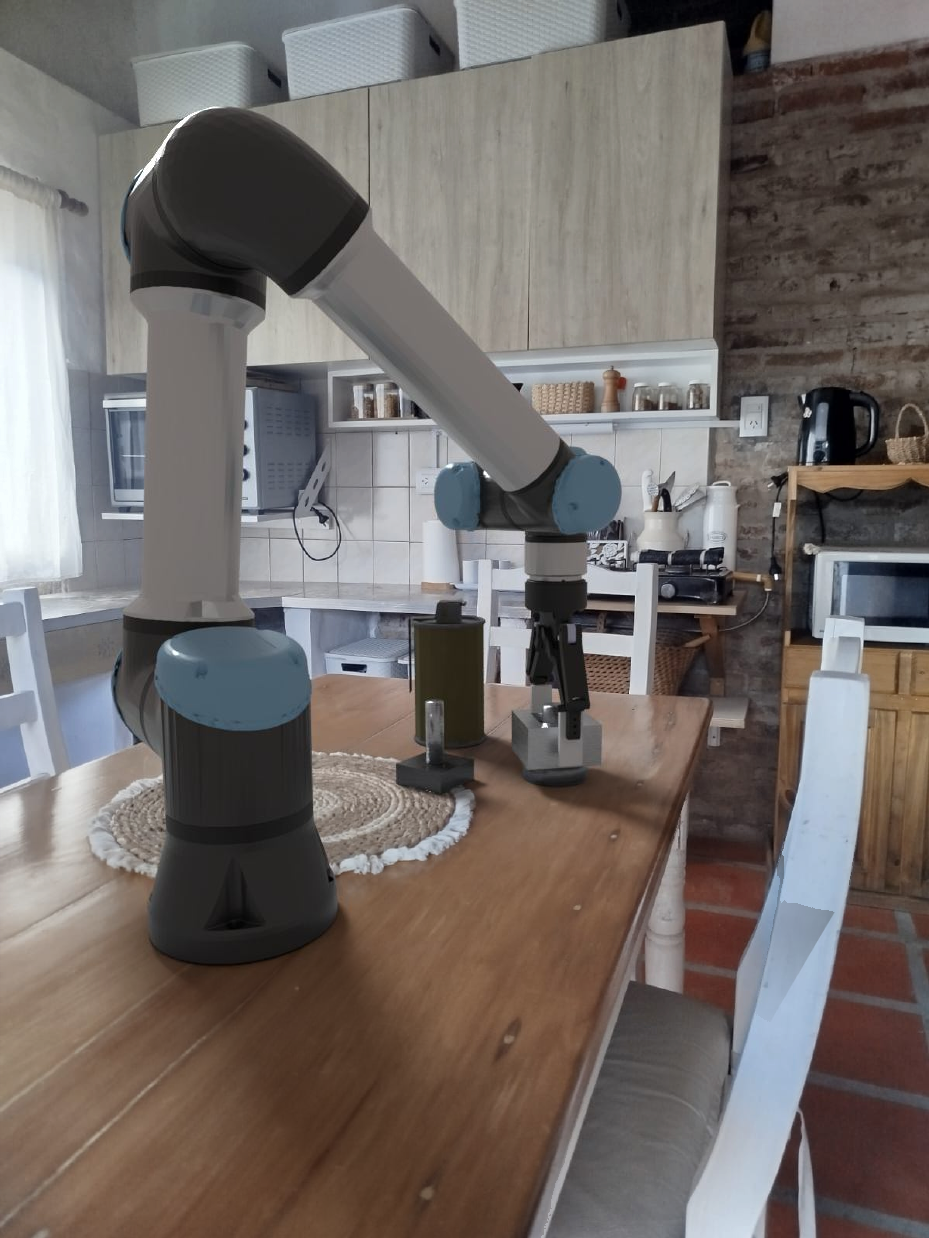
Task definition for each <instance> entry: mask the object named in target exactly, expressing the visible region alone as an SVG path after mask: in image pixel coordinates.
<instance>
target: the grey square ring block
mask: <svg viewBox="0 0 929 1238" xmlns="http://www.w3.org/2000/svg"><path fill="white" fill-rule="evenodd" d="M602 732H603V724H602V723H601V722H599V721H598V720H596V719H595V718H594V716H591V715H590V713H588V712H587V711H586V710H584V711H583V759H582V765H576V766H559V765H558V723H542V709H530V708H528V709H527V708H526V709H525V708H524V709H511V750H513V752H514V753H515V754H516V756H517V757H518V759H519V760H520V762H521V763H523V764H524V765H525V767H526V768H527V769H528V770H534V769H551V768H568V767H585V766H587V767H598V766H599V767H600V766H602V753H603V752H602V745H603V744H602V740H603V738H602V737H603V734H602Z"/></svg>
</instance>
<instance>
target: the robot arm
mask: <svg viewBox="0 0 929 1238" xmlns="http://www.w3.org/2000/svg"><path fill="white" fill-rule="evenodd" d="M373 222H374V221H373V209H372V207H371V206H370V205H369V204H368V202H367V201H366V200H365V199H364V198H363V197H362V196H361V195H360V193H359V192H358V191H357V190H356V189H355V188H354V187H353V185H351V184H350V183H349V182H348V180H347V179H346V178H345V177H344V176H343V175H342V174H341V173H340V172H339V171H338V170H337V169H336V168H335V167H334V166H333V165H332V164H331V163H330V162H329V161H328V160H327V159H325V157H323V156H322V155H321V154H320V153H319V152H318V151H317V150H315V148H313V147H311V146H310V145H309V144H308V143H307V142H306V141H305V140H303V139H302V138H301V137H299V135H297V134H295V133H294V132H293V131H291V130H290V129H288V127H286V126H283V125H282V124H280V123H278V122H277V121H275V120H273V119H271V118H270V117H268V116H266V115H264V114H261V113H259V112H256V111H253V110H251V109H248V108H247V109H246V108H241V107H234V106H226V105H223V106H211V107H209V108H205V109H201V110H198V111H196V112H194V113H191V114H190V115H188V116H187V117H185V118H184V119H183V120H181V121H180V122H179V123H177V124H176V125H175V126H174V128H173V129H172V130H171V131H170V133H169V134H168V135H167V137H166V138H165V139H164V141H163V143H162V145H161V146H160V148H159V149H158V150H157V152H156V153H155V155H154V156H153V158H152V159H151V160H150V161H149V163H148V164H147V165H145V166H144V167H143V168H141V170H140V171H139V172H138V173H137V175H135V177H134V178H133V180H132V181H131V184H130V185H129V187H128V189H127V191H126V193H125V196H124V198H123V203H122V207H121V213H120V222H119V224H120V226H119V231H120V240H121V244H122V245H121V246H122V249H123V252H124V255H125V257H126V260H127V262H128V264H129V265H130V271H129V302H130V303H131V304H132V306H133V307H134V308H135V309H136V310H137V311H138V312H139V313H140V314H141V316H142V317H143V318H144V319H145V320H146V323H147V344H146V345H147V347H146V351H147V352H146V388H145V391H146V393H145V429H144V431H145V432H144V433H145V434H144V435H145V436H144V440H145V441H144V472H143V473H144V474H143V475H144V476H143V477H144V478H143V479H144V480H143V515H142V516H143V517H142V518H143V522H142V523H143V524H142V559H141V561H142V564H141V565H142V566H141V591H140V593H139V594H138V596H136V597H135V598H134V599H133V600H132V601H131V602H130V603H129V604H128V605H126V606H125V607H124V608H123V609H122V612H123V613H122V614H123V615H122V636H121V637H122V639H121V640H122V643H121V644H122V645H121V649H120V650H119V651H118V652H119V653H118V654H117V656H116V658H115V661H114V663H113V667H112V670H111V674H110V675H111V676H110V691H111V697H112V701H113V704H114V707H115V710H116V713H117V714H118V716H119V719H120V720H121V721H122V723H123V724H124V726H125V727H126V728H127V730H128V731H129V732H130V733H131V734H132V735H134V736H135V737H136V738H138V739H139V741H140V742H142V743H143V744H145V745H146V746H147V747H149V749H151V750H152V751H153V752H154V753H155V754H156V755H157V756H158V757H159V758H160V760H161V766H162V767H161V769H162V785H163V800H164V801H163V803H164V817H165V839H164V844H163V847H162V851H161V853H160V858H159V862H158V866H157V871H156V874H155V878H154V883H153V886H152V887H153V888H152V890H151V893H150V895H149V897H148V901H147V909H146V910H147V911H146V913H147V916H146V917H147V930H148V932H147V933H148V937H149V940H150V942H151V943H152V945H153V946H154V947H155V948H156V949H157V950H158V951H161V952H162V953H163V954H166V955H167V956H169V957H171V958H175V959H178V960H181V961H185V962H190V963H196V964H205V965H206V964H209V965H228V964H229V965H230V964H240V963H241V964H242V963H248V962H256V961H260V960H264V959H269V958H273V957H277V956H280V955H283V954H285V953H288V952H292V951H293V950H296V949H297V948H300V947H303V946H304V945H307V944H309V943H311V942H312V941H313V940H316V938H319V936H320V935H322V934H323V933H324V932H326V930H328V929H329V928H330V926H331V925H332V924H333V922H334V921H335V920H336V917H337V915H338V909H339V904H338V903H339V902H338V882H337V879H336V875H335V872H334V870H333V869H332V868H331V865H330V862H329V858H328V855H327V851H326V850H325V846H324V843H323V841H322V838H321V837H320V834H319V831H318V828H317V825H316V821H315V816H314V814H315V813H314V787H313V783H314V782H313V781H314V780H313V750H312V749H313V745H312V744H313V743H312V742H313V741H312V737H313V736H312V710H311V709H312V705H311V700H312V694H313V687H312V686H313V685H312V680H311V678H310V677H311V676H310V671H309V664H308V657H307V654H306V651H305V650H304V647H303V646H301V644H300V643H299V642H298V641H297V640H295V639H294V638H293V637H290V636H289V635H286V634H284V633H281V632H279V631H275V630H271V629H258V628H257V627H255V617H256V616H255V612H254V611H253V610H252V609H251V608H250V607H249V606H248V605H247V604H246V602H245V601H243V599H242V597H241V595H240V594H239V593H240V563H241V543H242V542H241V539H242V538H241V537H242V535H241V534H242V509H243V508H242V507H243V506H242V505H243V484H244V483H243V481H244V477H243V476H244V475H243V473H244V450H245V425H246V424H245V419H246V416H245V415H246V396H247V395H246V393H247V392H246V390H247V389H246V388H247V365H248V364H247V362H248V361H247V360H248V339H249V338H248V337H249V335H250V334H251V332H252V331H253V330H255V329H256V328H257V327H258V326H259V325H260V324H261V323H263V322H264V321H265V320H266V312H267V311H266V309H267V289H268V288H267V287H268V286H267V285H268V284H267V283H268V278H269V279H270V280H271V281H272V282H274V283H275V284H276V286H278V287H279V288H280V290H282V291H283V292H284V293H285V294H286V295H287V296H288V297H289V298H290V299H293V300H294V299H296V300H297V299H299V300H310V301H311V302H312V303H313V304H314V305H315V306H316V307H317V308H318V309H319V310H320V311H321V312H322V313H324V315H325V316H326V317H328V318H329V320H330V321H331V322H332V323H334V324H335V325H336V327H338V328H339V330H341V331H342V332H343V333H344V335H346V337H348V338H349V339H350V340H351V341H352V342H353V343H354V345H356V346H357V347H358V348H359V349H360V350H361V351H362V352H363V353H364V354H365V355H366V356H367V357H368V358H369V359H370V360H371V361H372V362H373V363H374V364H375V365H376V366H377V367H378V368H379V369H381V371H382V372H384V374H385V375H386V376H387V377H388V378H390V380H391V381H392V382H394V384H395V385H396V386H397V387H398V388H399V389H400V390H401V391H402V392H404V393H405V394H406V395H407V396H408V397H409V398H410V399H411V400H412V401H413V403H415V404H416V405H417V407H419V408H420V409H421V410H422V411H423V412H424V413H425V414H426V415H427V416H428V417H429V418H430V419H431V420H432V421H433V423H435V424H436V425H437V426H438V427H439V428H440V429H441V430H442V431H443V432H444V433H445V434H446V435H447V436H448V437H449V438H450V439H451V440H452V441H454V443H455V444H456V445H457V446H458V447H460V449H462V450H463V451H464V453H466V454H467V456H469V457H470V458H471V459H472V460H467V461H460V462H459V461H458V462H451V463H448V464H446V465H445V466H444V467H443V468H441V470H440V471H439V473H438V475H437V476H436V480H435V484H434V487H433V493H434V494H433V500H434V501H433V503H434V509H435V513H436V515H437V518H438V519H439V521H440V522H441V524H442V525H443V526H444V527H445V528H446V529H450V530H452V531H466V532H468V533H469V532H472V533H473V532H475V531H503V532H505V531H509V532H524V570H523V571H524V574H525V575H527V576H529V578H526V581H524V607H525V608H526V610H528V611H531V612H532V613H531V617H532V620H531V623H532V624H531V631H530V632H531V633H530V641H529V647H528V652H527V653H528V656H527V663H526V669H525V673H526V676H527V677H528V680H529V683H530V704H529V705H530V708H529V709H542V704H544V703H549V702H553V685H552V683H555V680H556V685H557V690H558V696H559V701H560V702H559V703H561V705H558V706H557V707H556V712H559V717H558V765H559V766H576V765H582V759H583V711H586V710H590V708H591V701H590V693H589V685H588V677H587V670H586V661H585V653H584V645H583V625H582V624H581V623H574V622H573V613H575V612H582V611H584V610H586V609H587V607H588V581H586V579H585V578H583V576H586V574H587V573H588V558H589V557H591V556H592V550H591V549H590V548H588V537H589V533H596V532H599V531H601V530H603V529H605V528H606V527H607V526H608V525H609V524H611V523H612V521H614V518H615V517H616V515H617V513H618V511H619V509H620V506H621V502H622V495H623V494H622V493H623V489H622V483H621V479H620V478H621V477H620V476H619V473H618V471H617V469H616V467H615V466H614V464H613V463H612V462H611V461H610V460H608V459H607V458H605V457H603V456H601V455H594V454H589V453H587V451H586V450H585V449H584V448H582V447H579V446H575V445H574V446H571V445H568V443H566V442H565V441H564V440H563V439H562V438H561V437H560V436H559V435H558V433H557V432H556V431H555V430H554V429H553V428H552V426H550V424H549V423H548V422H547V421H546V420H545V419H544V418H543V417H542V415H541V414H540V413H539V411H537V410H536V408H534V406H533V405H532V404H531V403H530V402H529V401H528V399H526V398H525V396H524V395H523V394H522V393H521V392H520V391H519V390H518V389H517V388H516V386H515V385H514V384H513V383H512V382H511V381H510V380H509V379H508V377H507V376H506V375H505V374H504V373H503V372H502V371H501V370H500V368H499V367H498V366H497V365H496V364H495V363H494V362H493V360H491V359H490V358H489V356H488V355H487V354H486V353H485V352H484V351H483V350H482V348H481V347H479V346H478V344H477V343H476V342H475V341H474V339H472V337H471V336H470V335H469V334H468V333H467V332H466V331H465V330H464V329H463V327H461V325H460V324H459V323H458V322H457V321H456V320H455V318H453V316H452V315H451V314H450V313H449V312H448V311H447V310H446V309H445V308H444V306H443V305H442V304H441V303H440V302H439V301H438V300H437V299H436V297H434V295H433V294H432V293H431V291H429V290H428V288H426V286H425V285H424V284H423V283H422V282H421V281H420V279H418V277H417V276H416V275H415V274H414V273H413V271H411V270H410V269H409V268H408V266H407V265H406V264H405V263H404V262H403V261H402V260H401V259H400V258H399V256H397V254H396V253H395V252H394V251H393V250H392V249H391V248H390V247H389V245H388V244H387V243H386V242H385V241H384V240H383V238H381V237H380V235H379V234H378V233H377V232H376V231H375V230H374V226H373V225H374V224H373ZM553 669H554V674H552V673H553ZM554 675H555V677H554Z"/></svg>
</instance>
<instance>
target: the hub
mask: <svg viewBox="0 0 929 1238" xmlns="http://www.w3.org/2000/svg"><path fill="white" fill-rule="evenodd" d="M558 705H561V702H557V701H555V702H554V701H552V702H549V703H544V704H542V723H558V717H559V712H556V707H557V706H558ZM521 763H522V762H521ZM521 772H522V778H523V779H524V780H525V781H526V782H529V783H531V784H534V785H538V786H542V787H543V786H544V787H552V788H553V787H559V788H560V787H570V786H571V787H572V786H576V785H579V784H581V783H584V782H585V781H586V780H587V779H588V766H585V767H568V768H551V769H534V770H528V769H527V768H526V767H525V765H524V764H523V763H522V769H521Z"/></svg>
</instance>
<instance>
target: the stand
mask: <svg viewBox="0 0 929 1238" xmlns="http://www.w3.org/2000/svg"><path fill="white" fill-rule="evenodd" d="M425 708H426V746H425V752H422V753H420V754H417V755H415V756H412V757H409V758H406V759H404V760H402V761H399V762H397V763H395V782H396V784H397V785H402V786H406V787H409V788H413V787H415V788H414V789H417V788H418V789H417V790H422V791H425V790H428V791H427V792H429V791H431V792H430V793H433V792H434V794H438V795H442V794H445V793H447V792H449V791H451V790H453V789H456V788H457V787H459V786H462V785H464V784H466V783H468V782H471V781H473V780H474V779H475V758H471V757H465V756H460V755H456V754H451V753H446V752H445V748H444V701H443V700H439V699H431V700H427V701H425Z"/></svg>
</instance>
